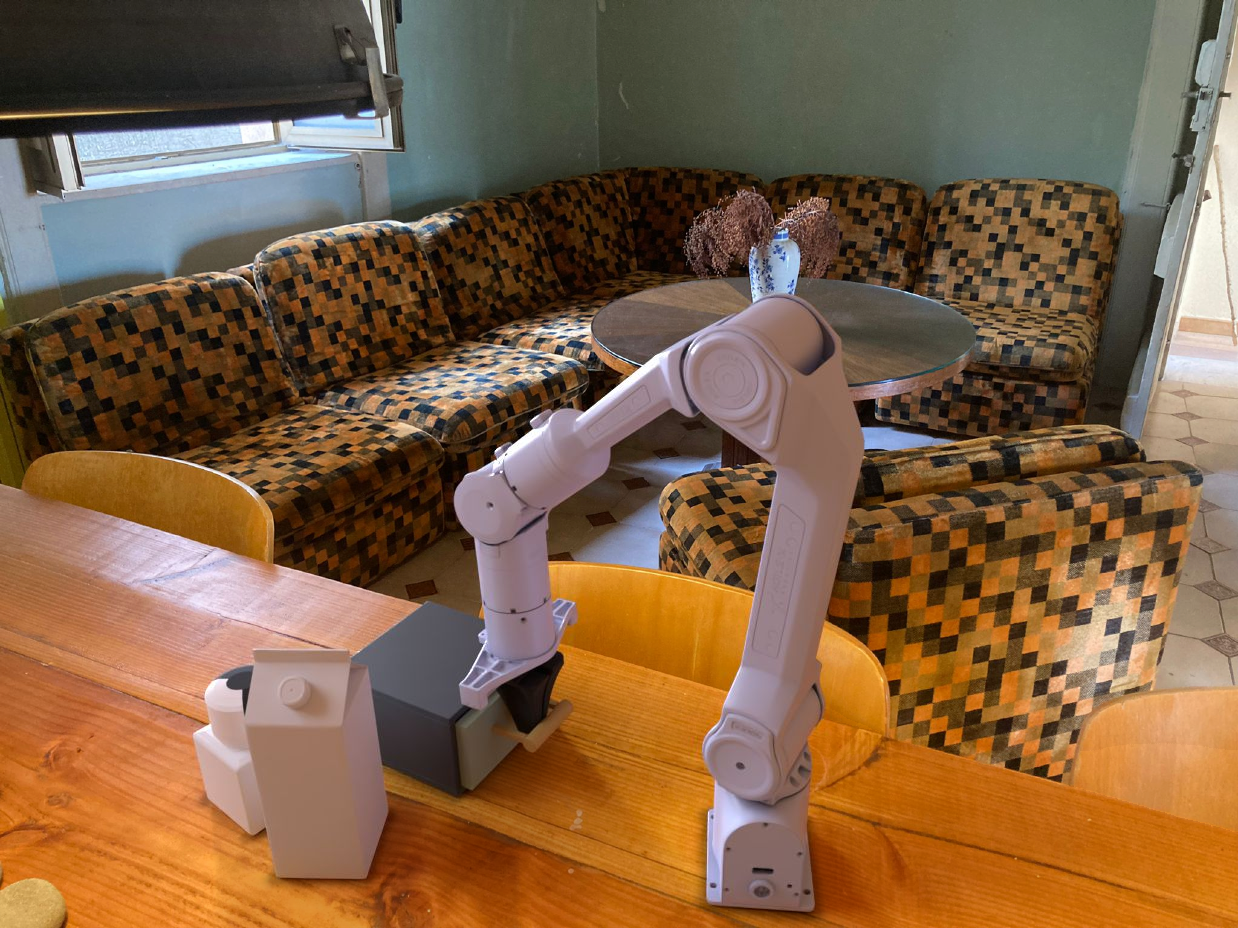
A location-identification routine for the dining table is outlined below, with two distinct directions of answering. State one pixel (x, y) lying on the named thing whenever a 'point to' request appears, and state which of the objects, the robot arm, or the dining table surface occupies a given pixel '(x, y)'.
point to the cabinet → (422, 691)
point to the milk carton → (316, 761)
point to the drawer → (499, 736)
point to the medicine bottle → (229, 750)
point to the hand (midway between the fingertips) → (530, 729)
